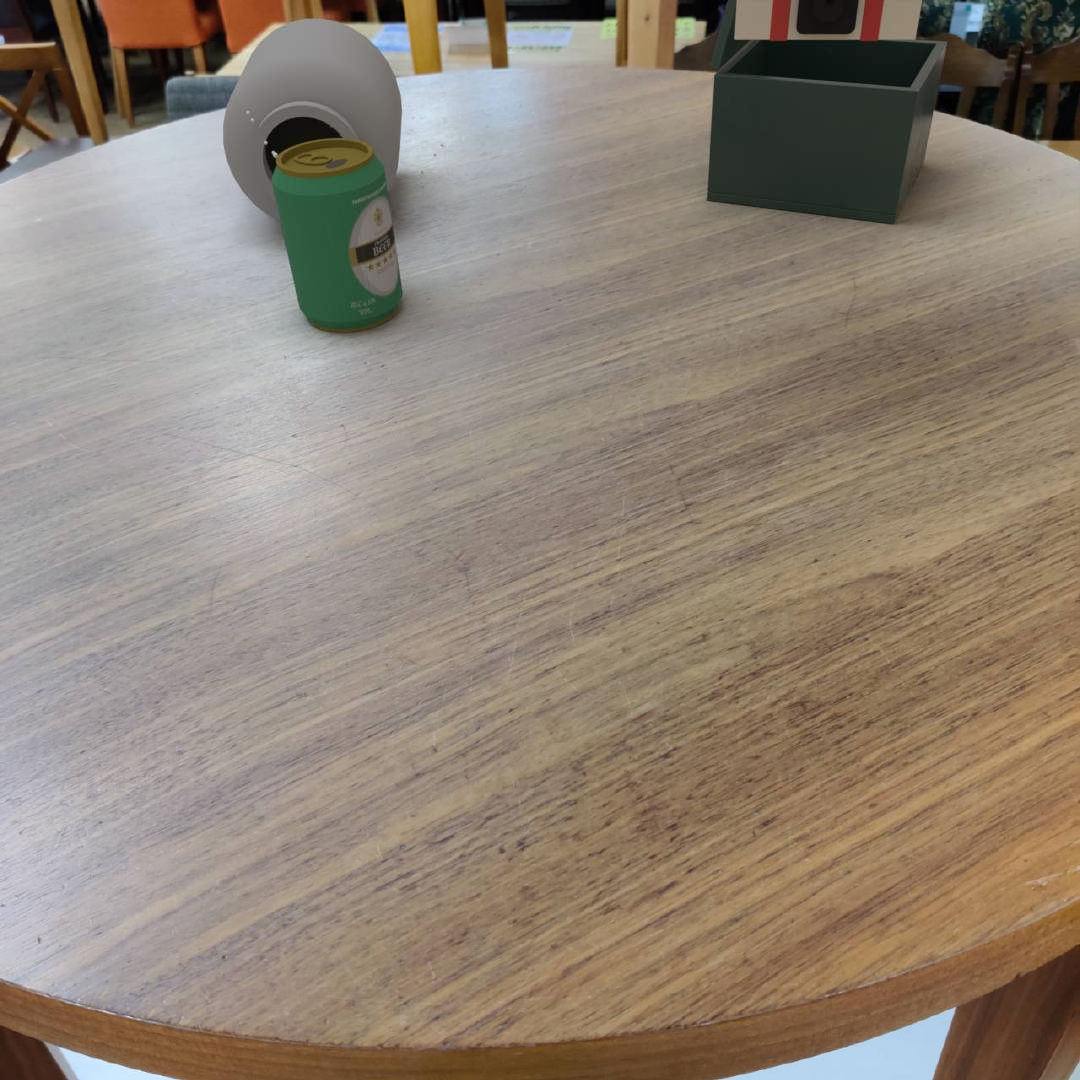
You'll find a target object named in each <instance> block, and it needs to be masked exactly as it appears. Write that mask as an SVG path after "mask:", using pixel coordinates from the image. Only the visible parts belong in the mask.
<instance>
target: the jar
mask: <svg viewBox="0 0 1080 1080" xmlns="http://www.w3.org/2000/svg"><path fill="white" fill-rule="evenodd" d="M402 120H403V105H402V96H401V91H400V88H399V84H398V81H397V78H396V75H395V73H394V71H393V68H392V67H391V65H390V63H389V61H388V60H387V58H386V57H385V55H384V54H383V53H382V51H381V50H380V49H379V47H378V46H376V45H375V44H374V43H373V42H372V41H371V40H370V39H369V38H368V37H367V36H366V35H364V34H362V33H361V32H359V31H358V30H356V29H354V28H353V27H351V26H349V25H347V24H343V23H342V22H339V21H336V20H330V19H324V18H320V17H319V18H317V17H316V18H301V19H298V20H294V21H290V22H287V23H285V24H283V25H281V26H279V27H277V28H275V29H274V30H272V31H271V32H270V33H269V34H268V35H266V36H265V37H264V38H263V39H262V40H261V41H260V42H259V43H258V44H257V45H256V47H255V49H254V50H253V51H252V53H251V54H250V56H249V58H248V60H247V62H246V64H245V66H244V68H243V70H242V72H241V74H240V76H239V78H238V80H237V82H236V84H235V87H234V88H233V90H232V93H231V94H230V98H229V100H228V102H227V104H226V107H225V112H224V118H223V123H222V144H223V145H222V146H223V149H224V155H225V158H226V163H227V165H228V167H229V171H230V172H231V175H232V177H233V179H234V180H235V182H236V184H237V186H238V187H239V188H240V190H241V191H242V193H243V194H244V195H245V196H246V197H247V198H248V199H249V200H250V201H251V203H252V204H253V205H254V206H256V207H257V208H258V209H259V210H261V212H263V213H264V214H266V215H267V216H268V217H270V218H272V219H274V220H276V221H278V222H280V218H279V213H278V209H277V204H276V200H275V195H274V191H273V186H272V177H273V174H274V171H275V168H276V166H277V164H276V158H277V156H278V155H279V154H280V153H282V152H283V151H284V150H286V149H288V148H290V147H292V146H295V145H298V144H301V143H305V142H309V141H314V140H320V139H331V138H346V139H355V140H360V141H363V142H366V143H368V144H369V145H371V147H372V148H373V153H374V154H375V155H376V156H377V158H378V159H379V160H380V161H381V163H382V164H383V165H384V169H385V176H386V183H387V190H388V193H389V191H390V190H391V188H392V186H393V184H394V181H395V178H396V176H397V175H396V174H397V172H398V168H399V160H400V150H401V134H402ZM440 147H442V148H443V147H445V145H444V143H440ZM433 157H437V153H433ZM424 173H425V171H424V170H421V171H420V174H421V175H424ZM424 186H425V184H424V183H421V184H420V187H422V188H423V187H424Z"/></svg>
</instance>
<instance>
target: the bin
mask: <svg viewBox="0 0 1080 1080" xmlns="http://www.w3.org/2000/svg"><path fill="white" fill-rule="evenodd" d="M947 45H948V42H947V41H945V40H943V41H941V40H929V39H928V40H927V39H915V40H878V41H860V40H787V41H770V40H750V41H749V42H748V43H747V44H746V45H745V46H744V47H743V48H742V49H740V50H739V51H738V52H737V53H736V54H735V55H734V56H733V57H732V58H731V59H730V60H729V61H728V62H726V63H725V64H724V65H723V66H722V67H721V68H720V69H719V70H717V72H715V73H714V75H713V89H712V103H711V105H712V106H711V123H710V138H709V154H708V155H709V156H708V173H707V174H708V175H707V192H706V200H707V201H712V202H719V203H726V204H735V205H740V206H741V205H742V206H749V207H759V208H765V209H773V210H774V209H775V210H780V211H789V212H797V213H805V214H811V215H821V216H827V217H829V216H830V217H836V218H845V219H852V220H859V221H867V222H875V223H883V224H891V225H895V223H896V221H897V219H898V217H899V215H900V213H901V211H902V209H903V207H904V205H905V203H906V201H907V199H908V197H909V195H910V193H911V191H912V188H913V186H914V185H915V182H916V180H917V178H918V176H919V174H920V172H921V170H922V168H923V166H924V164H925V159H926V153H927V148H928V142H929V137H930V133H931V129H932V128H931V127H932V122H933V118H934V111H935V108H936V102H937V96H938V92H939V86H940V81H941V76H942V70H943V66H944V60H945V55H946V51H947Z"/></svg>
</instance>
